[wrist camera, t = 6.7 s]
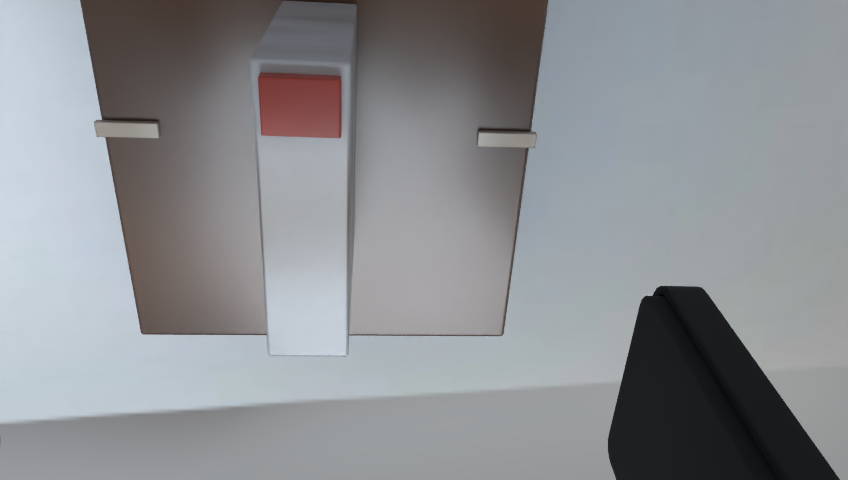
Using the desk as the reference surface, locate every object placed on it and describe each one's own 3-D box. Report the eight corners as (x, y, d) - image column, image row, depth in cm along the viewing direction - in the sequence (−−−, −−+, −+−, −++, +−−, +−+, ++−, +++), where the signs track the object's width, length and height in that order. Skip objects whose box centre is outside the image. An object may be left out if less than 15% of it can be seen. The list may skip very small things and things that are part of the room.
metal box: (353, 245, 18) (347, 365, 14) (290, 243, 18) (266, 364, 14) (357, 3, 15) (350, 67, 11) (282, -1, 15) (247, 63, 11)
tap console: (492, 279, 23) (508, 340, 20) (164, 275, 22) (134, 339, 19) (543, -149, 17) (576, -144, 14) (95, -175, 16) (37, -176, 13)
